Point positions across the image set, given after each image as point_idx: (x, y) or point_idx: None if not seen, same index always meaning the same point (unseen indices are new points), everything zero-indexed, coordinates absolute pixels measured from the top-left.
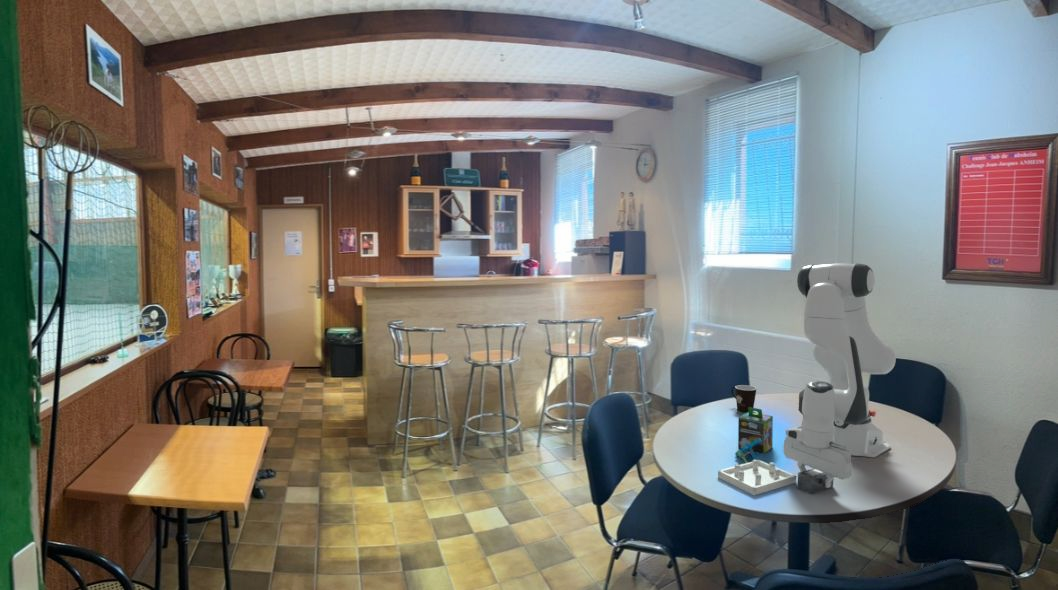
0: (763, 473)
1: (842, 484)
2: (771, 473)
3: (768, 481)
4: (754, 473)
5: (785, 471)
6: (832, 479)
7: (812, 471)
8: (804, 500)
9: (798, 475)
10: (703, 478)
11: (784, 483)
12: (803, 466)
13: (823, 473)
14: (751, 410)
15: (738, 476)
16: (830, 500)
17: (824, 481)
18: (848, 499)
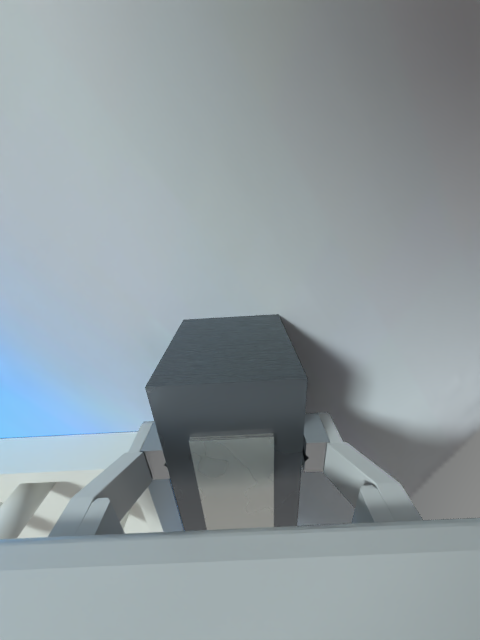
0: (48, 507)
1: (281, 214)
2: (53, 486)
3: (133, 532)
4: (42, 529)
5: (70, 473)
6: (365, 460)
7: (220, 511)
8: (299, 503)
9: None
10: None
11: (167, 500)
12: (112, 498)
13: (280, 469)
14: None
15: None
16: (359, 437)
17: (319, 470)
18: (412, 367)
